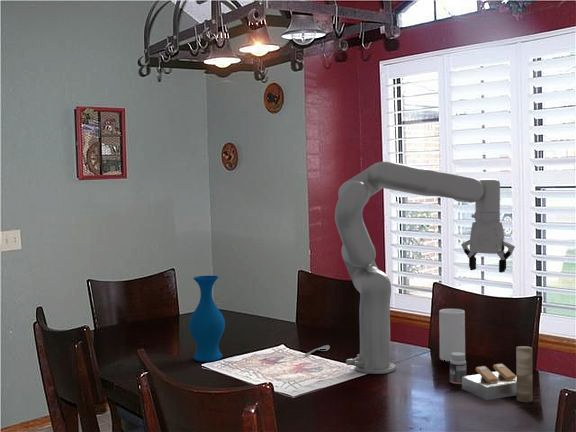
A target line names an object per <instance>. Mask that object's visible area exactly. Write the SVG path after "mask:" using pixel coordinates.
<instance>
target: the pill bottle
mask: <svg viewBox="0 0 576 432" xmlns="http://www.w3.org/2000/svg"><path fill="white" fill-rule="evenodd" d="M464 359H465V360H464ZM462 376H467V361H466V352H465V353H461V352H454V353H451V360H450V362H449V382H450V383H452V384H456V385H462Z"/></svg>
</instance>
